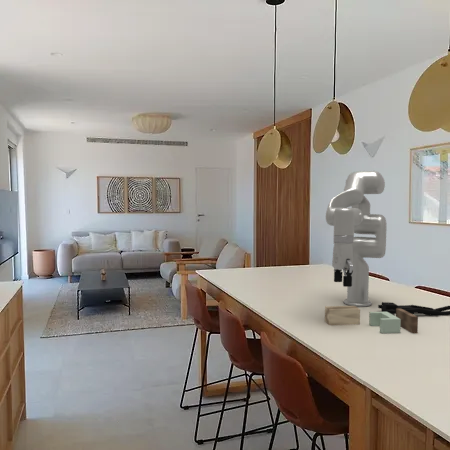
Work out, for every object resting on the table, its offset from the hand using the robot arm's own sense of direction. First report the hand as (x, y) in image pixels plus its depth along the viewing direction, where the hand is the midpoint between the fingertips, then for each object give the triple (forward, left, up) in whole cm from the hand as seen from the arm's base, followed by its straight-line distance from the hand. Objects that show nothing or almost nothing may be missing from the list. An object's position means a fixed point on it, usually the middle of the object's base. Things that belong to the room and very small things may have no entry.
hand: (342, 284), depth 165 cm
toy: (-13, +38, -17) cm, 44 cm away
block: (+9, +13, -15) cm, 22 cm away
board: (+7, +9, -16) cm, 20 cm away
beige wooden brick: (0, 0, -15) cm, 15 cm away
